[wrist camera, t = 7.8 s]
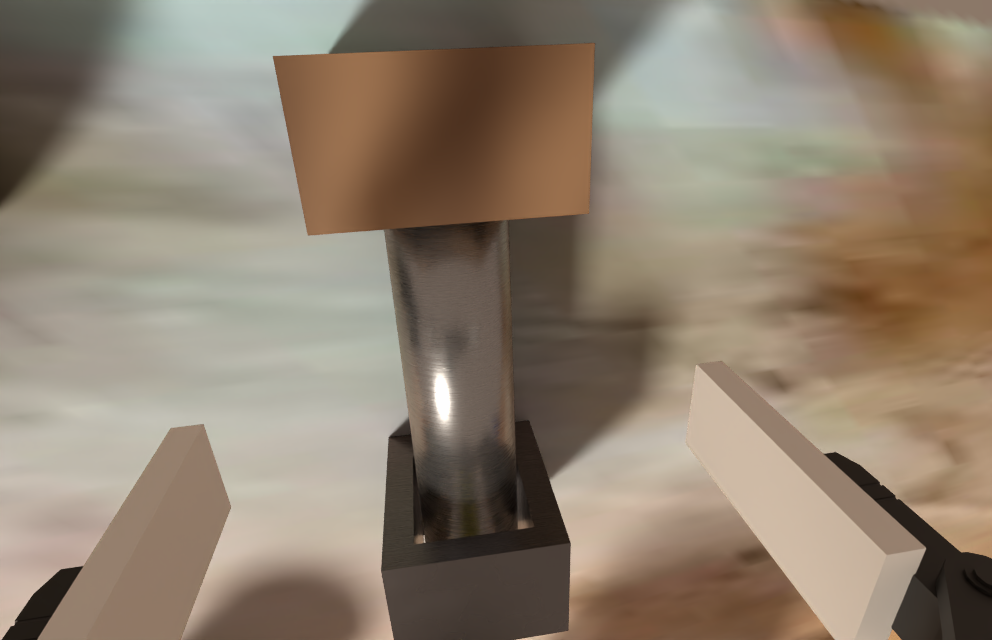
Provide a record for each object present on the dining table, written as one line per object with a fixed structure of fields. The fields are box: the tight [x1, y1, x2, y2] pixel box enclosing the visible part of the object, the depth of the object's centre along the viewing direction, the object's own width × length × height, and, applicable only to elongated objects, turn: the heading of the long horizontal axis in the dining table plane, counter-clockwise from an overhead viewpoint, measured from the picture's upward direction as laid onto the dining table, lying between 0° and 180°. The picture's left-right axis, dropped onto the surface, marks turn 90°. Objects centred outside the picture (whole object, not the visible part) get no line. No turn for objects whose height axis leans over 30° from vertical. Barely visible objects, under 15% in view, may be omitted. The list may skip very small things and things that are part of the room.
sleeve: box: [381, 421, 571, 640], centre depth 29 cm, size 8×6×9 cm
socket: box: [273, 43, 595, 235], centre depth 20 cm, size 9×5×10 cm, turn 92°
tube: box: [384, 220, 518, 543], centre depth 25 cm, size 20×5×5 cm, turn 2°
